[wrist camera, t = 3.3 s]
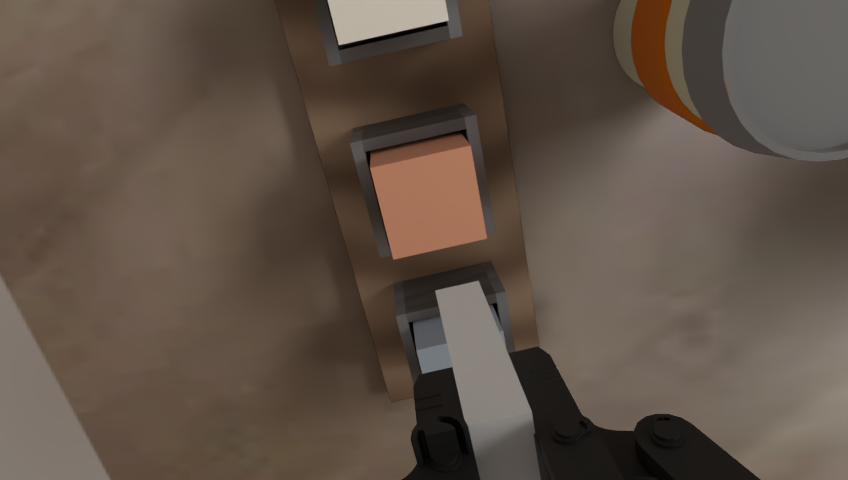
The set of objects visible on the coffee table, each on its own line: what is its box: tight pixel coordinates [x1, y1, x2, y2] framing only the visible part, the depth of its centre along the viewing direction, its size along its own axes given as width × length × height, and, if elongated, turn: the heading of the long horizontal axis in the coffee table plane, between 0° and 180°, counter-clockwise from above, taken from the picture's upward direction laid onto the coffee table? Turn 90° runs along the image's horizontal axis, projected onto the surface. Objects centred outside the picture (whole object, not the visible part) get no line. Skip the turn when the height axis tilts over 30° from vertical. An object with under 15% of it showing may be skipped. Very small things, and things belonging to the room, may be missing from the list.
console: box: [275, 0, 539, 402], centre depth 36 cm, size 38×13×6 cm, turn 12°
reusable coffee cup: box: [613, 0, 848, 162], centre depth 30 cm, size 12×13×15 cm
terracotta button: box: [370, 131, 487, 260], centre depth 32 cm, size 6×6×5 cm
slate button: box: [413, 304, 506, 374], centre depth 37 cm, size 6×6×5 cm
